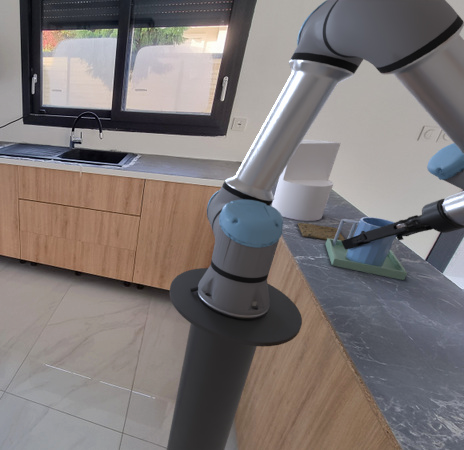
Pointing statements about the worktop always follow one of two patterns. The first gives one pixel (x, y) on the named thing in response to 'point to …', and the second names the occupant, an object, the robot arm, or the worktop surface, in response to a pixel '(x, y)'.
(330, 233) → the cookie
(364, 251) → the tumbler
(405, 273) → the dish rack
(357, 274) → the worktop surface
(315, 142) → the white rounded block
